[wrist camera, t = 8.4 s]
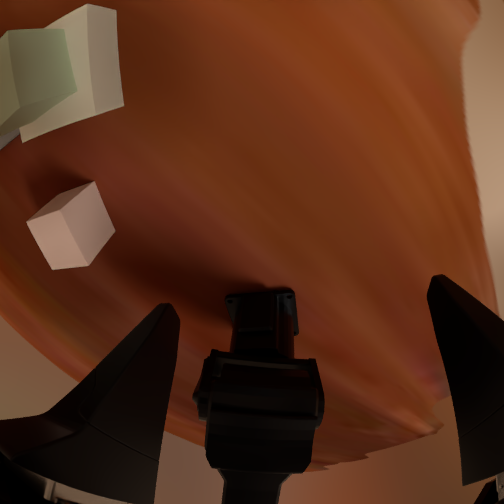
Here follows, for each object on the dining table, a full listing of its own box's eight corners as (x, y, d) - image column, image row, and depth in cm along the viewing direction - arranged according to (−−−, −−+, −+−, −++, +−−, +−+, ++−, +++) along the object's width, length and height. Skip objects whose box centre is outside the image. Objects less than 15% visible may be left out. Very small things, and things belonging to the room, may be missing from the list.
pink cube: (115, 230, 22) (88, 265, 18) (79, 237, 23) (52, 269, 19) (94, 180, 19) (59, 209, 15) (59, 193, 20) (26, 221, 16)
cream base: (126, 105, 16) (96, 115, 13) (53, 128, 17) (22, 142, 13) (118, 10, 11) (87, 3, 8) (43, 47, 12) (11, 52, 9)
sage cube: (64, 28, 9) (7, 30, 5) (77, 90, 12) (20, 107, 8) (19, 66, 10) (-32, 80, 6) (32, 122, 13) (-18, 146, 8)
